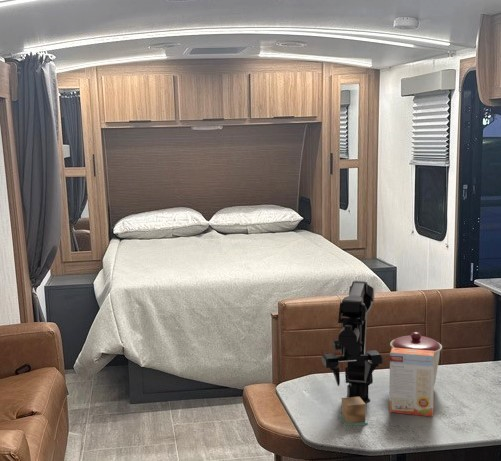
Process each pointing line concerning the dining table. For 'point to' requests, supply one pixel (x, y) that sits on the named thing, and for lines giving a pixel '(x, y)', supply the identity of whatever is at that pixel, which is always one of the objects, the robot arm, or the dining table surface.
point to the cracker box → (412, 381)
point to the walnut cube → (353, 409)
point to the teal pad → (352, 423)
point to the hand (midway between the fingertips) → (352, 384)
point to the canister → (419, 346)
